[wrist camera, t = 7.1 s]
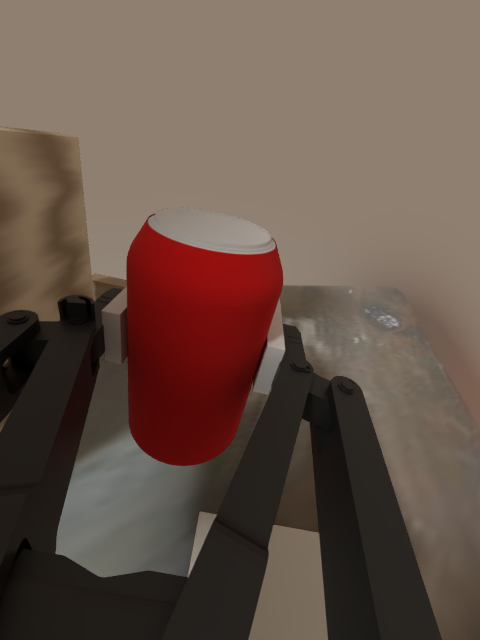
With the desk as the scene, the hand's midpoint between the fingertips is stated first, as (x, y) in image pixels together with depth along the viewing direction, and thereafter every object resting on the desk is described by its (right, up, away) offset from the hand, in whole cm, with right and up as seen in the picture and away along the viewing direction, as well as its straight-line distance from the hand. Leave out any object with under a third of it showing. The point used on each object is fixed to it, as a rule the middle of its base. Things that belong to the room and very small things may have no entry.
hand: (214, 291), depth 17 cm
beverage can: (-2, -8, -1) cm, 8 cm away
